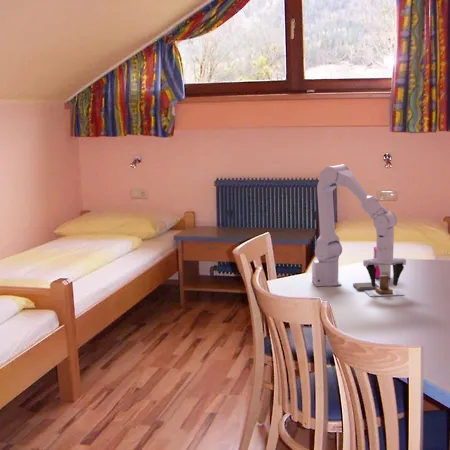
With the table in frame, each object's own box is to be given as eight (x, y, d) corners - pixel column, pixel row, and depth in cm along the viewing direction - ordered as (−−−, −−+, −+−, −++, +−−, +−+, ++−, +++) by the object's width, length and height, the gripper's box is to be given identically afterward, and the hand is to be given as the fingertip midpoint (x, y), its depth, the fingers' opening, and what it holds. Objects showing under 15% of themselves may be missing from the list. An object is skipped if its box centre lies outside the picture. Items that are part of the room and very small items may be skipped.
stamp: (380, 294, 239) (380, 277, 238) (375, 291, 243) (375, 274, 242) (392, 293, 240) (393, 277, 238) (387, 290, 244) (388, 274, 243)
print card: (370, 296, 237) (370, 295, 237) (364, 291, 244) (364, 290, 244) (404, 295, 238) (404, 294, 238) (397, 290, 245) (397, 289, 245)
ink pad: (358, 291, 245) (358, 287, 245) (353, 286, 252) (353, 282, 252) (380, 290, 246) (380, 286, 246) (374, 285, 253) (374, 281, 252)
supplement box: (388, 275, 266) (389, 246, 265) (390, 279, 261) (391, 249, 259) (373, 275, 267) (373, 246, 265) (374, 279, 261) (375, 249, 259)
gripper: (367, 250, 234) (367, 289, 236) (409, 248, 235) (408, 287, 237) (361, 246, 241) (361, 284, 243) (402, 244, 242) (401, 282, 244)
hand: (384, 285), depth 241 cm, fingers open, 7 cm apart
